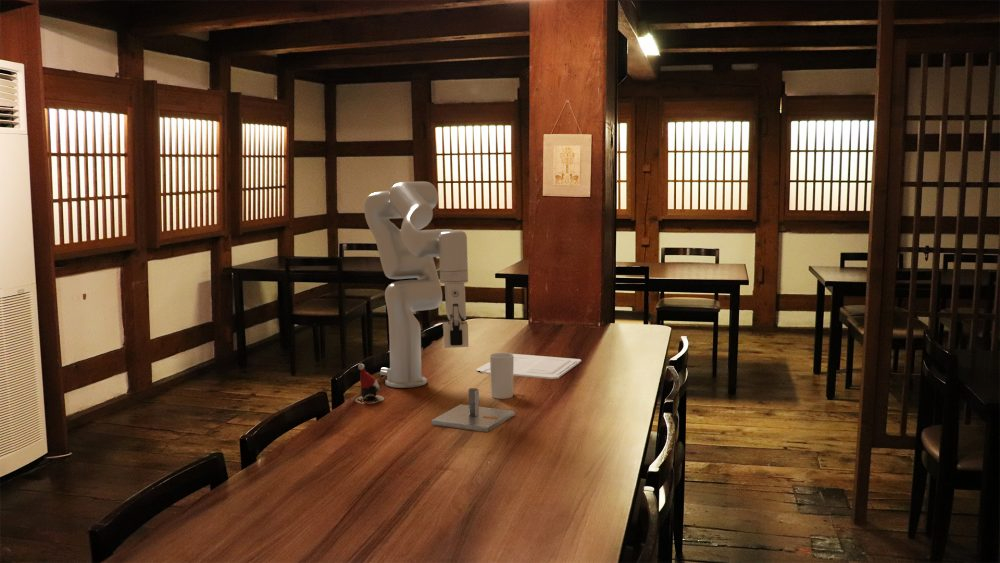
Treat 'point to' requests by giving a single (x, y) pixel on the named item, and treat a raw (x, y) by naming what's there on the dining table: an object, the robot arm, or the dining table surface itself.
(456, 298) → the robot arm
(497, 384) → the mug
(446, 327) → the hollow square tube
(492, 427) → the square peg base
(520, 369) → the tray
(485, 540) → the dining table surface
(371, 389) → the figurine
